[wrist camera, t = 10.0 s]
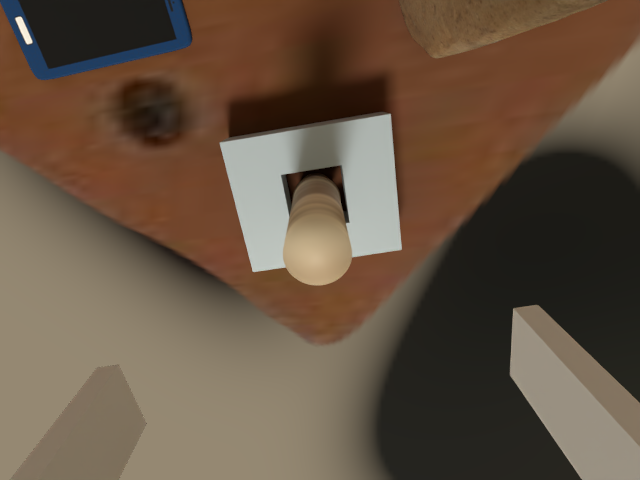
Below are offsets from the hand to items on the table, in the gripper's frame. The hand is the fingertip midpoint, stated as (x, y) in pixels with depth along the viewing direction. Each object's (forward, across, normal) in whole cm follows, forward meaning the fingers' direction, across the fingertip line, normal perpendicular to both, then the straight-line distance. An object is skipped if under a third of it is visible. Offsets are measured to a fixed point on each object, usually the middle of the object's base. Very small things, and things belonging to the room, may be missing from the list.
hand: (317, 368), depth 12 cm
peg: (+24, 0, 0) cm, 24 cm away
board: (+24, 0, 0) cm, 24 cm away
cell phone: (+25, -15, +17) cm, 34 cm away
